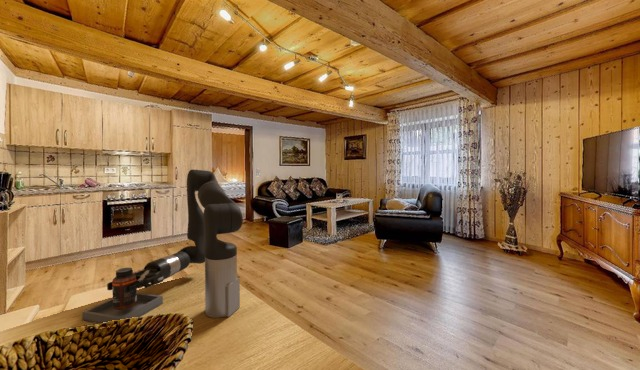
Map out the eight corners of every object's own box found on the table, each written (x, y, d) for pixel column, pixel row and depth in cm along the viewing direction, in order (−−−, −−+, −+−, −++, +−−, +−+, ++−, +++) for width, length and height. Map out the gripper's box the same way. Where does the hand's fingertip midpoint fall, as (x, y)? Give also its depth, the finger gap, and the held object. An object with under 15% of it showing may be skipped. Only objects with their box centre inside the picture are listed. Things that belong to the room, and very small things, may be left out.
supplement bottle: (141, 301, 83) (141, 266, 82) (126, 311, 77) (125, 273, 77) (124, 300, 84) (123, 265, 83) (107, 310, 78) (106, 272, 77)
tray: (162, 303, 85) (162, 296, 85) (121, 327, 72) (120, 318, 72) (128, 298, 89) (128, 291, 89) (82, 320, 75) (82, 312, 75)
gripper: (146, 256, 95) (97, 273, 79) (179, 259, 92) (135, 278, 76) (146, 276, 96) (98, 298, 79) (180, 280, 92) (136, 303, 76)
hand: (116, 288), depth 78 cm, fingers closed on supplement bottle, 6 cm apart
